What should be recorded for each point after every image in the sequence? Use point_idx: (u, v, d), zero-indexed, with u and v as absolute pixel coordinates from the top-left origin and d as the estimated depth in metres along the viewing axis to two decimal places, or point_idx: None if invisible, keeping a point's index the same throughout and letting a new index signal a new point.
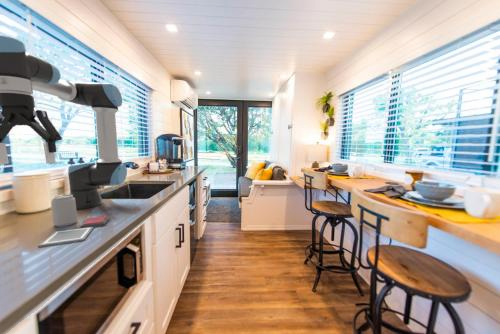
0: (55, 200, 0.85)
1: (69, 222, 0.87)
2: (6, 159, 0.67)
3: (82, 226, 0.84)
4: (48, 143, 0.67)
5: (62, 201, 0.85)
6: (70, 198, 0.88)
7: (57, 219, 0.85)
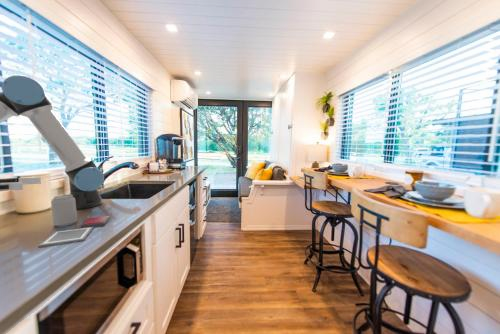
0: (55, 200, 0.85)
1: (69, 222, 0.87)
2: (34, 179, 0.89)
3: (82, 226, 0.84)
4: None
5: (62, 201, 0.85)
6: (70, 198, 0.88)
7: (57, 219, 0.85)
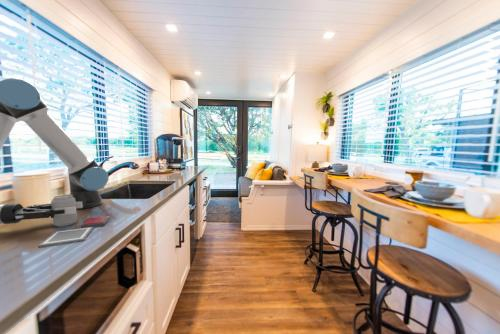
0: (55, 200, 0.85)
1: (69, 222, 0.87)
2: (77, 203, 0.93)
3: (82, 226, 0.84)
4: None
5: (62, 201, 0.85)
6: (70, 198, 0.88)
7: (57, 219, 0.85)
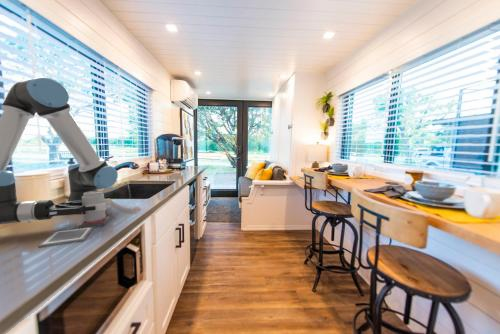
0: (86, 196, 0.85)
1: (99, 218, 0.87)
2: (105, 200, 0.93)
3: (82, 226, 0.84)
4: None
5: (93, 197, 0.85)
6: (100, 194, 0.88)
7: (88, 215, 0.85)
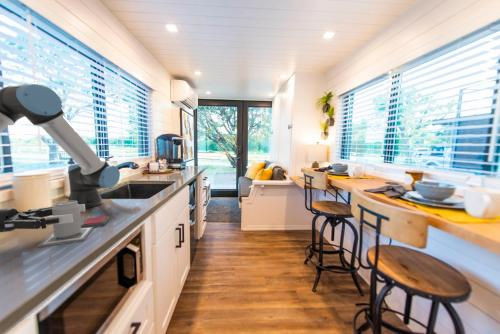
0: (57, 207, 0.73)
1: (72, 233, 0.75)
2: None
3: (82, 226, 0.84)
4: None
5: (65, 209, 0.73)
6: (74, 205, 0.76)
7: (58, 230, 0.73)
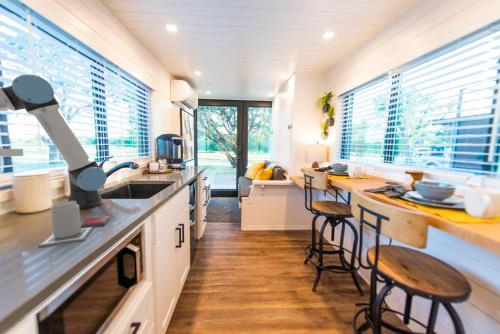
0: (56, 208, 0.72)
1: (72, 233, 0.75)
2: (16, 150, 0.82)
3: (82, 226, 0.84)
4: None
5: (64, 209, 0.73)
6: (73, 205, 0.75)
7: (58, 230, 0.73)
